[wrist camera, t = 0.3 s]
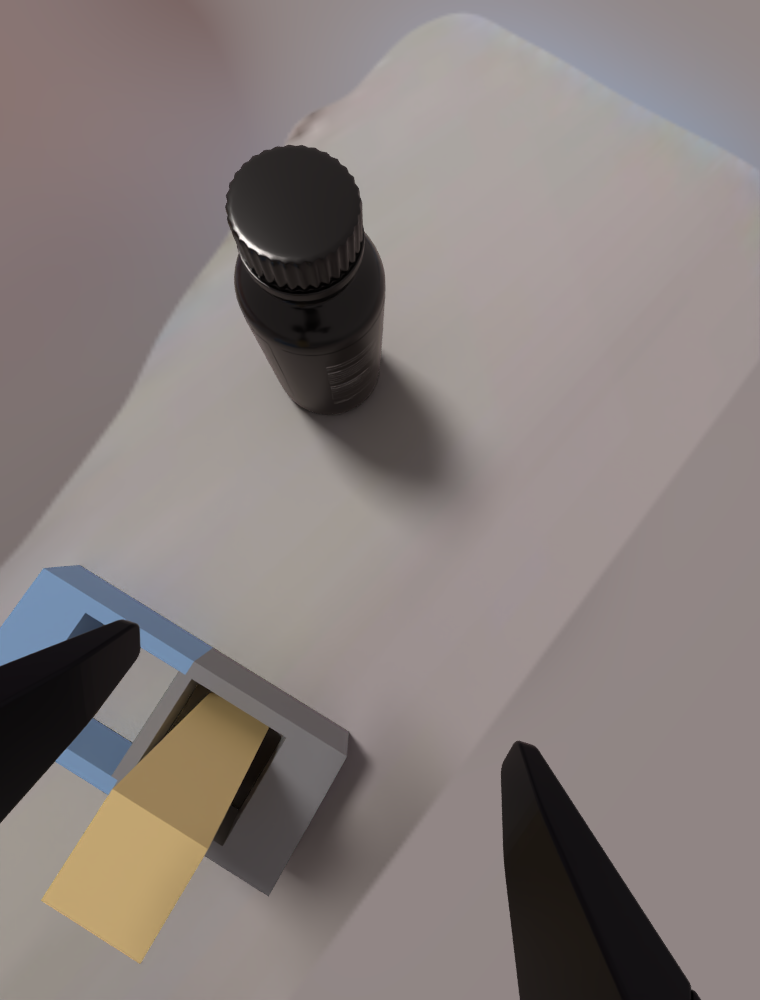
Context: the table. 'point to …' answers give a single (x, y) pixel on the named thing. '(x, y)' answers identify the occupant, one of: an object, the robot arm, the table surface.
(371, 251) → the supplement bottle
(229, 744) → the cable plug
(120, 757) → the duct block
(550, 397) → the table surface
